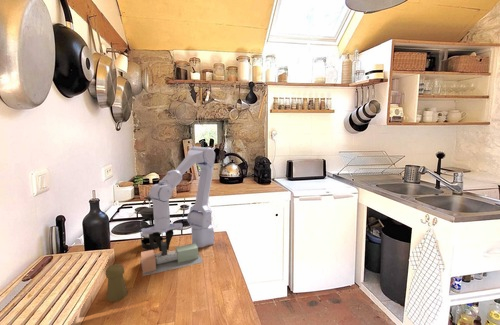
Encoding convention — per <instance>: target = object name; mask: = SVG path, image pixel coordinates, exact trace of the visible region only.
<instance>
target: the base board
mask: <svg viewBox="0 0 500 325" xmlns="http://www.w3.org/2000/svg"><path fill="white" fill-rule="evenodd" d="M200 263H201V264H202V263H204V261H203V258H202V256H201V255H200V254H199V252H198V258H196V259H192V260H187V261H183V262H178V261H177V260H174V261H169V262H165V263H160V264H156V270H154V271H150V272H145V273H143V268H142V259H140V264H141V272H142V277H144V276H149V275H153V274H154V275H155V274H158V273H162V272H163V273H164V272H166V271H171V270H175V269H179V268H183V267H188V266H192V265H196V264H197V265H198V264H200Z"/></svg>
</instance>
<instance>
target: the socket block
mask: <svg viewBox="0 0 500 325" xmlns="http://www.w3.org/2000/svg"><path fill="white" fill-rule="evenodd" d="M154 254H155V251H154V249H151V250H145V251H141V252H140V256H141V257H140V258H141V259H140V260H142V266H141V269H142V268H143V273H145V272H150V271H154V270H156V260H155V255H154Z"/></svg>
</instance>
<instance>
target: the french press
mask: <svg viewBox="0 0 500 325" xmlns="http://www.w3.org/2000/svg"><path fill="white" fill-rule="evenodd" d="M143 199H144V200H147V201H148V205H149V206H148V207H145V208H142V209H140V210H138V214H140V216H141V217H142V218H143V219H141V220H140V221H139V226H140V227H139V229H140V230H139V231H140V241H141V248H142V249H144V250H146V251H149V250H156V249H159V247H158V244H157V242H156V240H155V239H154V237H153V234H148V235H145V236H142V229H146V228H149V227H153V226H154V212H153V206H151V202H152V199H151V198H150V196H149V195H148V196H145V197H143ZM146 222H149V223H148V224H144V223H146ZM160 236H161V242H164V240H165V241H166V236H165V237H163V233H161V232H160Z"/></svg>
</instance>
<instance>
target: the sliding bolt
mask: <svg viewBox="0 0 500 325" xmlns="http://www.w3.org/2000/svg"><path fill="white" fill-rule="evenodd" d="M161 249H162V251H160V252H158V253H154V255H155V260H156V264H160V263H165V262H169V261H174V260H178V256H177V250H176V249H174V250H170V251H169V250H167V243H166V240H165V241H163V242H161Z"/></svg>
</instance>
